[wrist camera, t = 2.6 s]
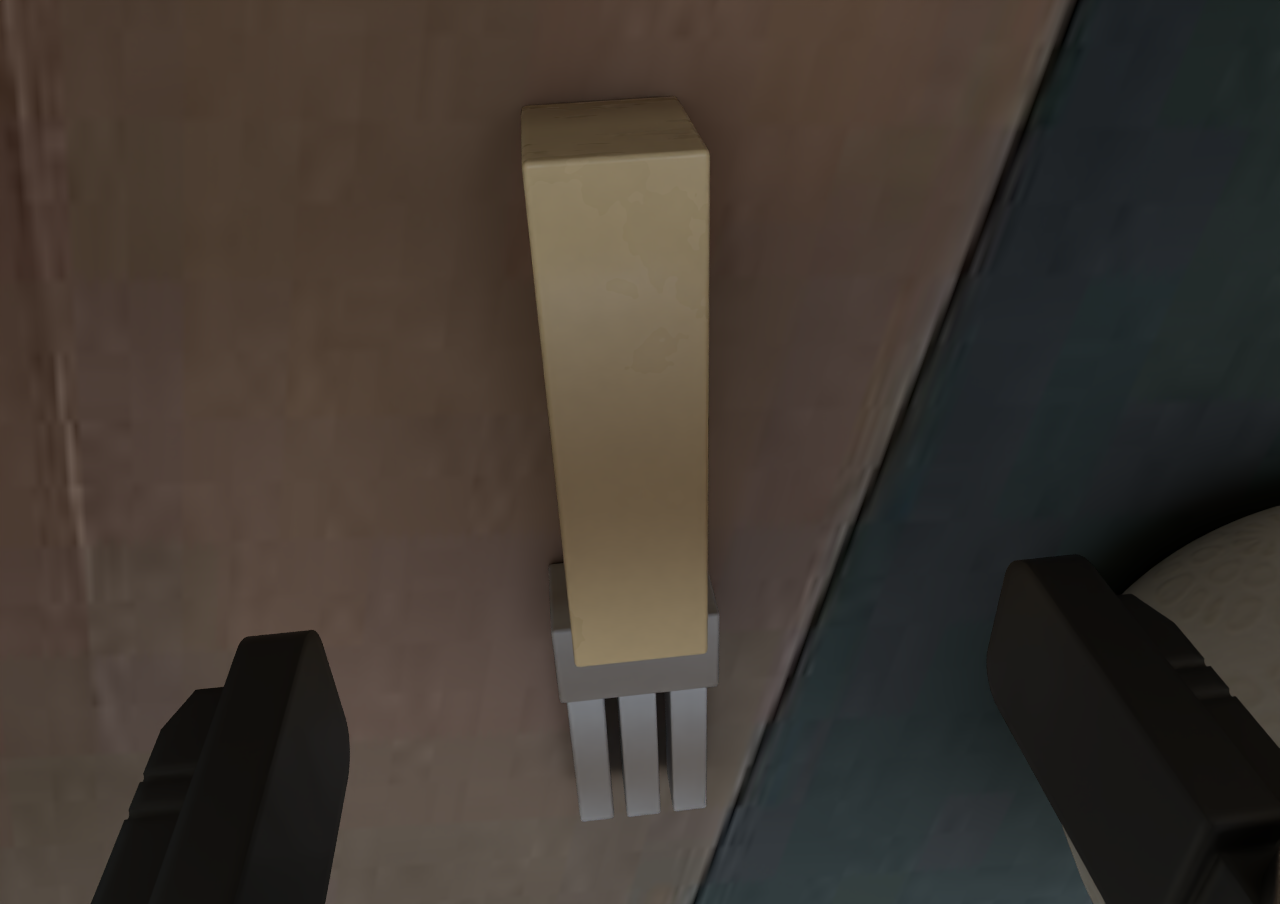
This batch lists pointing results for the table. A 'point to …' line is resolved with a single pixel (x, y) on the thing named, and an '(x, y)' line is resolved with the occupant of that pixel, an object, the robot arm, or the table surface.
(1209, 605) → the planter
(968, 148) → the table surface
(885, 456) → the table surface
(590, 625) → the fork
